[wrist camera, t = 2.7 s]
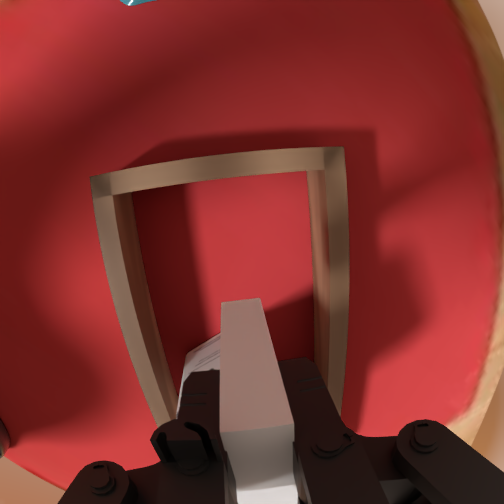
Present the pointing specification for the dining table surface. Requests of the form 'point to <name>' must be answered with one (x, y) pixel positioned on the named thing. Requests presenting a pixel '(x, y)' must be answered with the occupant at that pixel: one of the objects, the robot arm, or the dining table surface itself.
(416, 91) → the dining table surface
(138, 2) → the vase
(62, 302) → the dining table surface
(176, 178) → the walnut frame
